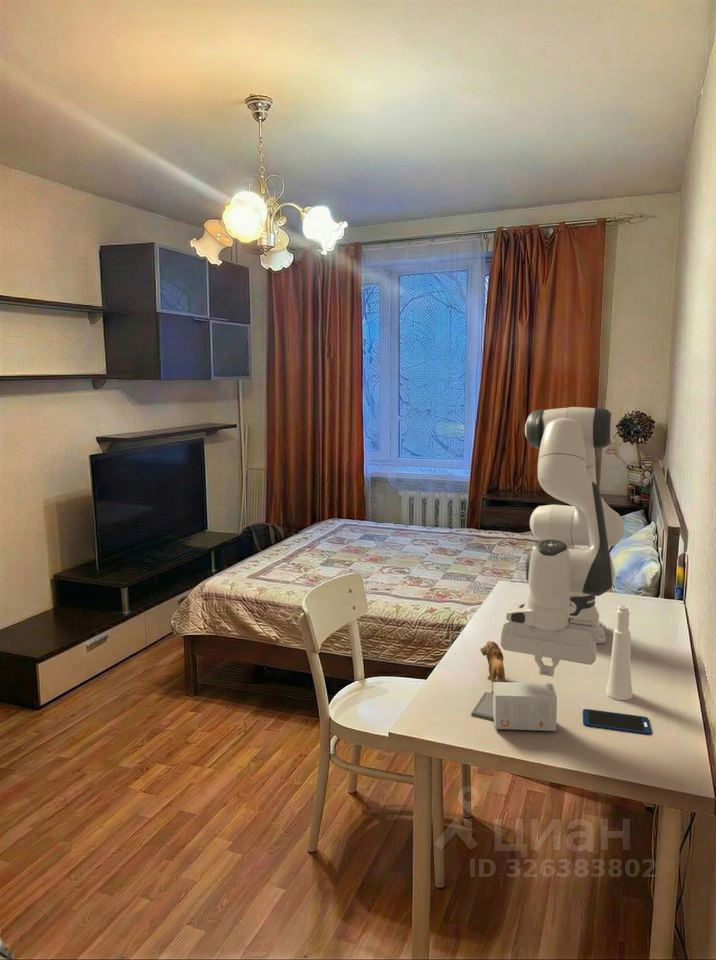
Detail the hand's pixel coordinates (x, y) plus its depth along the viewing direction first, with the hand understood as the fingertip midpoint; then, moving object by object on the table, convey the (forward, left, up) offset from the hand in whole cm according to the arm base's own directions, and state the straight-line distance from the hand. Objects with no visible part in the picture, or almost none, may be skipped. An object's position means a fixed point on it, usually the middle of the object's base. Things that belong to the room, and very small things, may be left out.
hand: (546, 674), depth 144 cm
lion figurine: (-12, -15, -11) cm, 22 cm away
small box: (+3, +3, -6) cm, 7 cm away
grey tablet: (0, -8, -11) cm, 13 cm away
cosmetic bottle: (-19, +14, -11) cm, 26 cm away
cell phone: (-5, +14, -11) cm, 19 cm away
